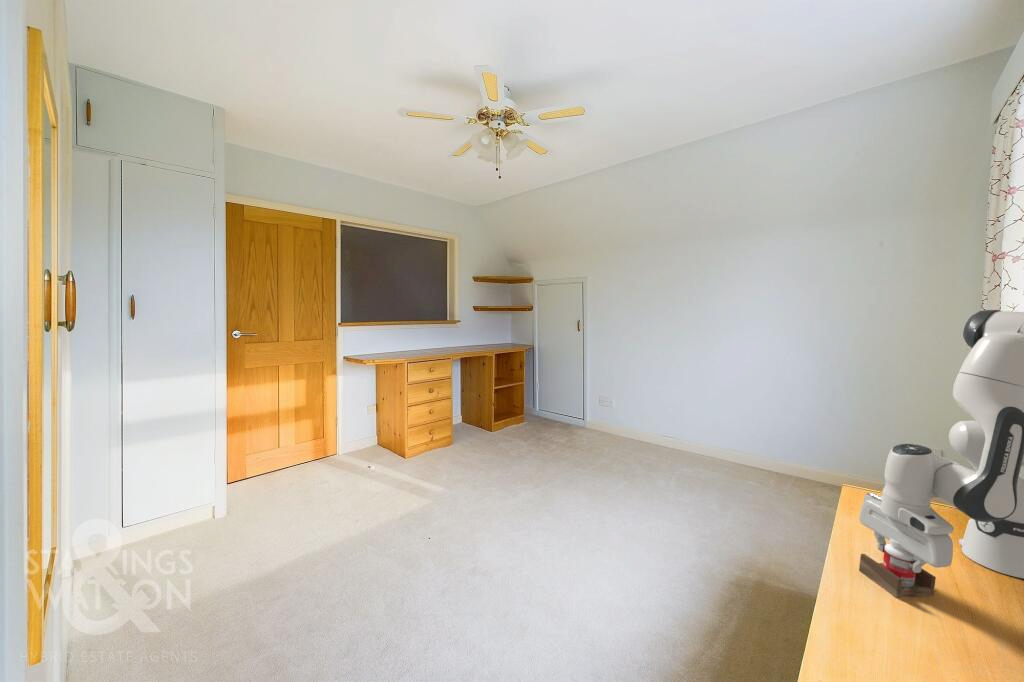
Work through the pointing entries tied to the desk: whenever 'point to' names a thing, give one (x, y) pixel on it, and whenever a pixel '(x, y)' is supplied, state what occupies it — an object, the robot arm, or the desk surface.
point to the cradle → (896, 579)
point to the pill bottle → (899, 563)
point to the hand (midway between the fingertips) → (898, 560)
